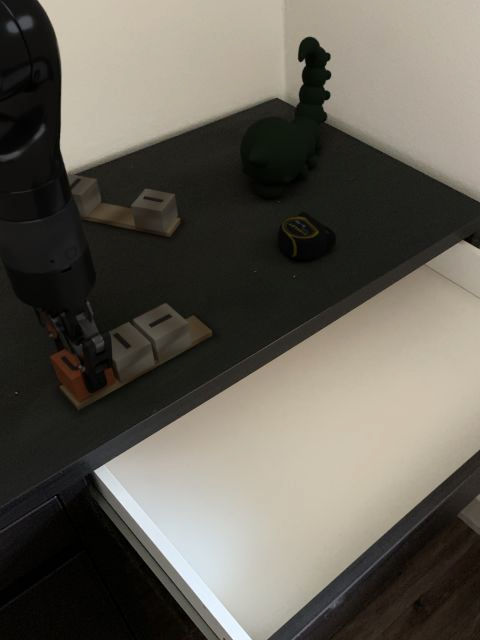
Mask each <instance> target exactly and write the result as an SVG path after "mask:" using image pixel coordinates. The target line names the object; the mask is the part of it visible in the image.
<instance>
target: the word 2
mask: <svg viewBox="0 0 480 640" xmlns="http://www.w3.org/2000/svg"><path fill="white" fill-rule="evenodd" d="M132 323H133V325H132V324H131V322H129V321H128V322H125V323H123V324H121V325H120V326H119V325H118V327H115V328H113V329H112V330H110V331H108V332H109V333H110V335H111V341H112V358H113V367H112V371H113V375H114V378H115V382H114V383H112V384H111V385H109V386H107V387H105V388H103V389H101V390H100V391H98V392H96V393H94V394H92V395H91V396H89V397H87V398H85V399H83V400H82V401H80V402H79V401H78V400H77V399H76V398H75V397H74V396H73V395H72V394H71V393H70V391H69V390H68V389H67V388H66V387H65V386H64V385H63V384H61V385H59V389H60V392H62V394H63V395H64V396H65V398H67V399H68V401H69V402H70V403H71V404H72V405H73V407H75V408H76V410H78V411H80V410H82V409H84V408H86V407H87V406H89V405H91V404H93V403H94V402H96V401H99V400H100V399H102V398H103V397H105V396H107V395H109V394H111V393H112V392H114V391H116V390H118V389H120V388H121V387H124V386H125V385H127V384H129V383H130V382H132V381H134V380H137V378H140V377H141V376H143V375H145V374H147V373H148V372H150V371H152V370H154V369H156V368H157V367H159V366H161V365H163V364H164V363H166V362H168V361H170V360H171V359H174V358H175V357H177V356H179V355H181V354H182V353H184V352H186V351H188V350H190V349H191V348H193V347H195V346H197V345H198V344H201V343H203V342H204V341H206V340H207V339H209V338H211V337H213V330H212V329H210V328H209V327H208V326H207V325H206V324H204V323H203V322H202V321H201V320H200V319H199V318H197V317H196V316H195V315H194V314H192V315H191V316H189V317H188V318H184V317H183V316H182V315H180V314H179V313H178V312H177V311H176V310H175V309H174V308H173V307H171V305H169V304H168V303H167V302H165V303H162V304H160V305H158V306H157V307H154V308H153V309H150V310H149V311H146V312H144V313H143V314H141V315H139V316H137V317H135V318H133V319H132Z"/></svg>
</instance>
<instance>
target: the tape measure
mask: <svg viewBox="0 0 480 640" xmlns="http://www.w3.org/2000/svg"><path fill="white" fill-rule="evenodd" d="M336 242H337V234H336V232H334V231H333V230H332V229H331V228H330V227H328V226H326V225H325V224H323V223H321V222H320V221H318V220H317V219H315V218H314V217H313V216H312V215H310V214H309V213H307V212H306V211H302V212H300V213H298V214H297V215H294V216H291V217H288V218H286V219H284V220H283V221H282V222H281V224H280V225H279V227H278V233H277V244H278V247H279V249H280V250H281V251H282V252H283V254H286V256H287V257H288V256H289V257H291V258H293V259H296V260H305V261H307V260H312V259H313V260H314V259H316V258H319V257H320V256H322V255H323V254H324V253H325V252H327V251H328V250H332V248H334V246H335V245H336Z"/></svg>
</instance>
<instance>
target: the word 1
mask: <svg viewBox="0 0 480 640" xmlns="http://www.w3.org/2000/svg"><path fill="white" fill-rule="evenodd" d="M67 176H68V179H69V183H70V187H71V191H72V194H73V197H74V199H75V202H76V204H77V206H78V209H79V211H80V215H81V218H82V221H87V222H92V223H93V222H94V223H98V224H103V225H108V226H113V227H117V228H122V229H127V230H131V231H137V232H141V233H142V232H143V233H146V234H153V235H157V236H162V237H167V238H171V237H172V235H173V234H174V232H175V231H176V230H177V229H178V227H179V225H180V224H181V223H182V221H181V217H178V216H179V214H178V207H177V200H176V194H175V193H171V192H165V191H159V190H156V189H149V188H145V189H143V191H142V192H141V193H140V194H139V195H138V197H137V198H136V199H135V200H134V201H133V202H132V204H131V206H130V207H126V206H121V205H115V204H111V203H106V202H102V201H103V200H102V197H101V192H100V187H99V184H98V179H97V178H92V177H88V176H82V175H77V174H72V173H67Z"/></svg>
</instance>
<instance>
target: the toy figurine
mask: <svg viewBox="0 0 480 640" xmlns="http://www.w3.org/2000/svg"><path fill="white" fill-rule="evenodd" d="M331 57H332V55H331V53H330V52H327V51H326V50H325V49H324V48H323V47H322V46H321V45H320V42H319V40H318V39H317V38H316V37H313V36H306V37H304V38H303V39H302V40H301V41H300V42H299V45H298V50H297V60H298V62H299V63H302V62H304V64H305V66H304V67H303V69H302V71H301V81H302V84H301V86H300V88H299V91H298V101H299V102H298V103H297V105H296V107H295V109H294V118H292V119H291V121H290V120H288V119H286V118H283V117H280V116H266V117H262V118H260V119H257V120H256V121H255V122H252V124H251V125H250V126H249V127H248V128H247V129H246V130H245V132H244V134H243V136H242V138H241V142H240V146H239V153H240V160H241V165H242V166H241V172H242V173H243V174H244V175H247V176H249V177H250V178H251V179H252V180H254V181H255V183H254V190H255V191H256V193H257V194H258V195H259V196H260V197H262V198H266V199H271V200H272V199H277V198H279V197H281V195H282V194H283V191H284V187H283V186H284V185H287V184H289V183H290V182H292V181H293V180H294V179H297V180H303V179H306V178H307V177H308V174H309V169H314V168H315V167H316V165H317V164H318V159H317V157H316V155H314V152H315V151H321V150H322V149H323V147H324V140H323V138H321V137H320V135H321V129H320V126H321V125H322V123H325V122H326V121H327V120H328V113H327V112H326V111H325V109H324V106H323V105H324V104H325V102H327V101H329V100H330V98H331V95H332V93H331V92H330V90H327V89H325V84H326V83H327V81H329V80H331V78H332V72H331V71H330V69H326V66H327V64H328V62H330V61H331Z"/></svg>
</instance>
